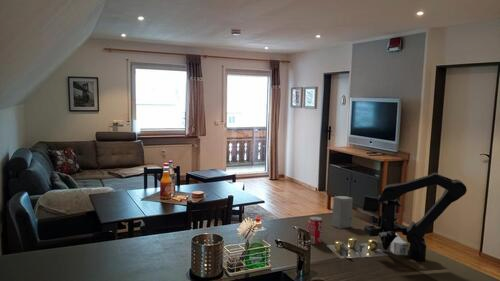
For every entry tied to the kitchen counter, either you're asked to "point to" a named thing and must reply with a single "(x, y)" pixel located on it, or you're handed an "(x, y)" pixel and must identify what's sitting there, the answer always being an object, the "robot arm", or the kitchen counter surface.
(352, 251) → the base plate
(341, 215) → the skincare box
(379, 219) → the robot arm
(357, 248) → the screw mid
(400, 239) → the syrup box
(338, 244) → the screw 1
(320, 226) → the soda can
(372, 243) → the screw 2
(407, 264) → the kitchen counter surface
